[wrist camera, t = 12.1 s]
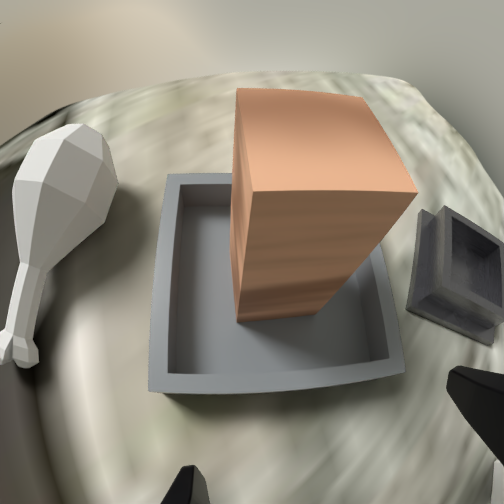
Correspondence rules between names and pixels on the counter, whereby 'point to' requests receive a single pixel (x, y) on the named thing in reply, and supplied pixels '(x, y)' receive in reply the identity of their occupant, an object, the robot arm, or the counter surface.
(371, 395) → the counter surface
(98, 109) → the counter surface
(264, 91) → the block
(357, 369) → the tray
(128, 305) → the counter surface
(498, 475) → the milk
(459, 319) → the grey square base plate
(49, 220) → the chicken leg
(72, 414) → the counter surface
